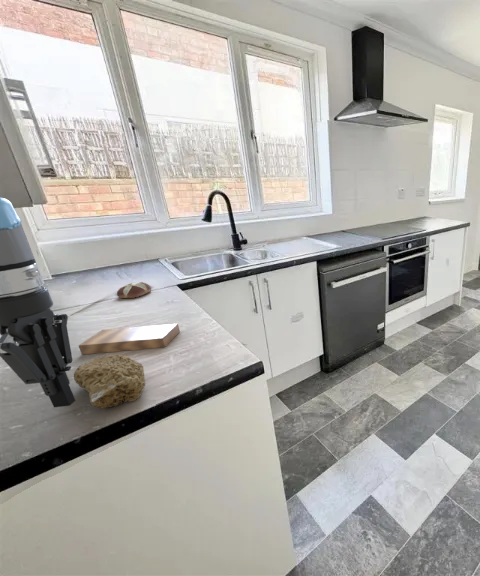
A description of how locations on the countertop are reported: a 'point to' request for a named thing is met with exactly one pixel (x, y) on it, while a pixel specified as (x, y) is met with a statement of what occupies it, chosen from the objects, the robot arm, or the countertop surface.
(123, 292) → the bread
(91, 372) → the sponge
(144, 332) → the wooden board
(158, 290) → the countertop surface
